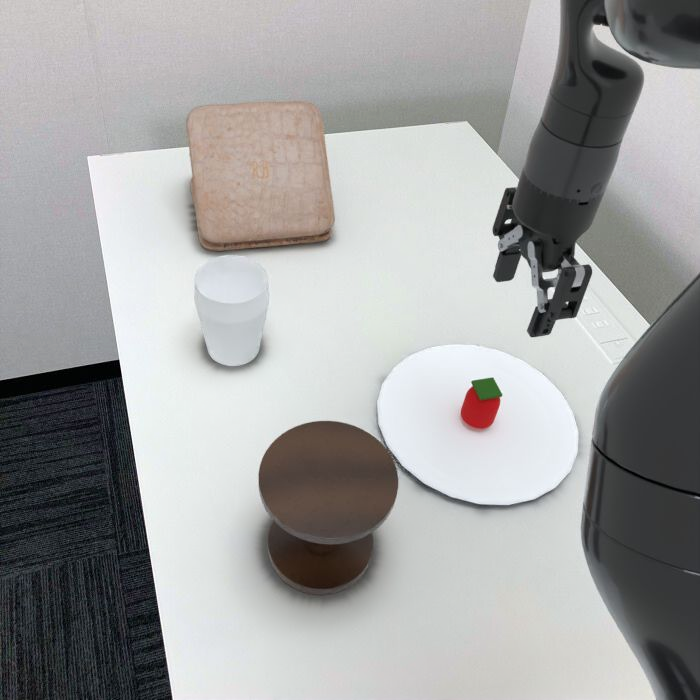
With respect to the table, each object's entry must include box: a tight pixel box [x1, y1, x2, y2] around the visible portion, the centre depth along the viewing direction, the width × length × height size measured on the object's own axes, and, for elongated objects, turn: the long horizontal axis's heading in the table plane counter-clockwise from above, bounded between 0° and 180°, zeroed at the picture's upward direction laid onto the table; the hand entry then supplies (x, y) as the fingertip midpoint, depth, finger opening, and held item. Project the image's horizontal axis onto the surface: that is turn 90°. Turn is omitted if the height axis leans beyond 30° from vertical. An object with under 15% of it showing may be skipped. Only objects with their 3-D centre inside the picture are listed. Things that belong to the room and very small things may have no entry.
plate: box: [376, 343, 579, 507], centre depth 91 cm, size 25×25×1 cm
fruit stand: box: [258, 420, 399, 596], centre depth 73 cm, size 13×13×13 cm
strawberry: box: [461, 377, 502, 429], centre depth 88 cm, size 4×4×5 cm
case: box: [185, 100, 336, 252], centre depth 111 cm, size 20×21×16 cm
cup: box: [193, 254, 270, 367], centre depth 92 cm, size 9×9×12 cm
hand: (519, 306), depth 77 cm, fingers open, 8 cm apart
